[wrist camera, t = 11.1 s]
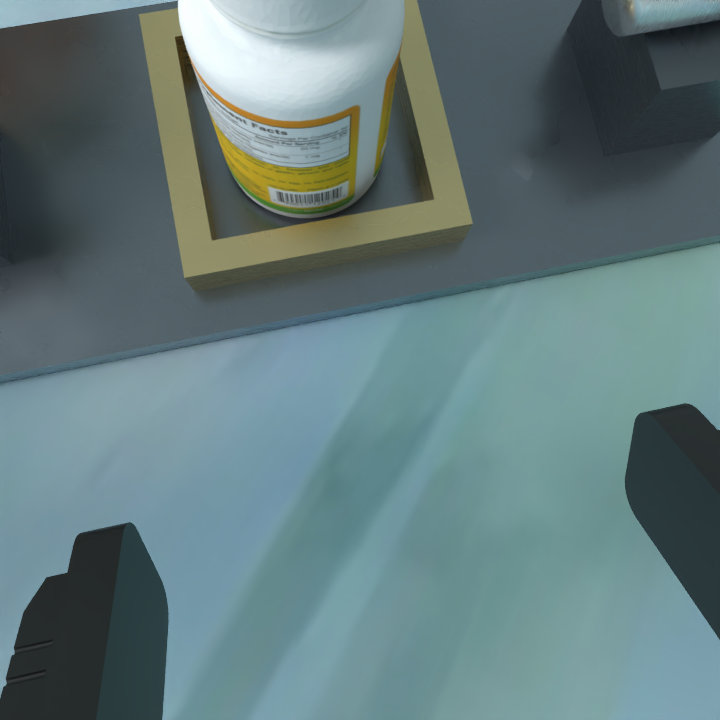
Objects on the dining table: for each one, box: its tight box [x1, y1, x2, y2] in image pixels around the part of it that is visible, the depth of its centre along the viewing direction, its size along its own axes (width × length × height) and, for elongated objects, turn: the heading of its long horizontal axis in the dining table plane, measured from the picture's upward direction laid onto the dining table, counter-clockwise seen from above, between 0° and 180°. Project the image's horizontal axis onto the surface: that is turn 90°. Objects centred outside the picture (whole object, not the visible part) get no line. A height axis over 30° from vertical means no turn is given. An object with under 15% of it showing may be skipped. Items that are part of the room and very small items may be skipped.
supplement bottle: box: [178, 0, 405, 218], centre depth 18 cm, size 5×5×10 cm
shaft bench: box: [0, 0, 720, 383], centre depth 20 cm, size 30×12×7 cm, turn 102°
